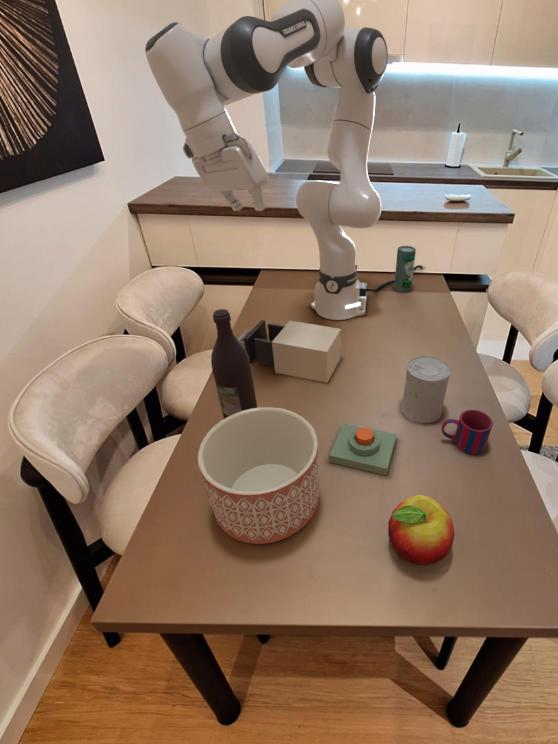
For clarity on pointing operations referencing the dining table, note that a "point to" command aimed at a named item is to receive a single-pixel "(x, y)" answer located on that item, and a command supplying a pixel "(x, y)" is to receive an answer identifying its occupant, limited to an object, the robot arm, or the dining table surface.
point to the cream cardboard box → (307, 351)
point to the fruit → (421, 530)
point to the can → (404, 268)
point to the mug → (471, 431)
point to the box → (363, 450)
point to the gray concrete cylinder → (425, 388)
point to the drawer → (260, 342)
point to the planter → (261, 473)
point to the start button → (364, 436)
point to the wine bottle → (231, 369)
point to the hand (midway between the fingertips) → (249, 209)
